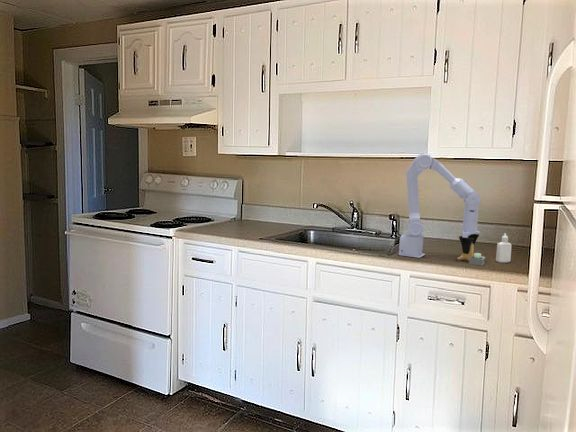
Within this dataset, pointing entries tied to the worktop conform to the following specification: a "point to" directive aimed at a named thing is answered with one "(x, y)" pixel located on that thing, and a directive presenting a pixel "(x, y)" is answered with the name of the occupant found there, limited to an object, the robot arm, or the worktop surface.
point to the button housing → (477, 261)
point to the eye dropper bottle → (503, 250)
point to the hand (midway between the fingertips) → (468, 252)
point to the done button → (477, 255)
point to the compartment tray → (465, 258)
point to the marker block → (469, 252)
